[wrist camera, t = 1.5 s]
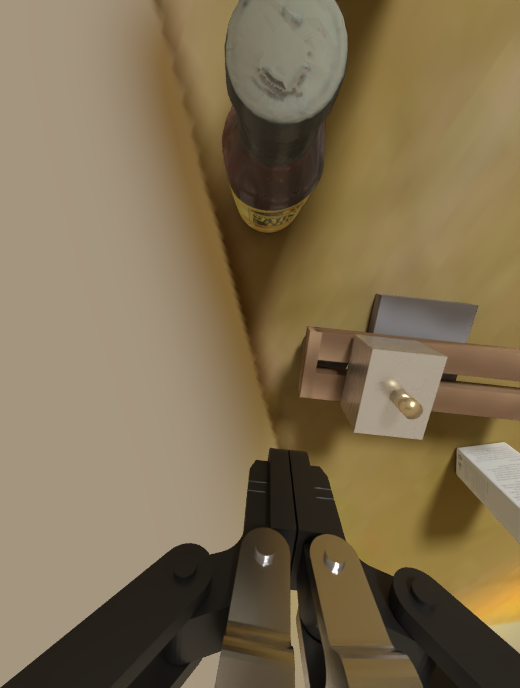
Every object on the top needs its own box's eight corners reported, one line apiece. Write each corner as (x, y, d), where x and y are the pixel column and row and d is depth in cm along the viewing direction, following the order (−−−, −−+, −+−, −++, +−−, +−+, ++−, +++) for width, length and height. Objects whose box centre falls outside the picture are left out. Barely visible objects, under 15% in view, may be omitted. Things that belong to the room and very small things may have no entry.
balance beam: (302, 285, 30) (316, 294, 22) (540, 311, 30) (645, 329, 22) (288, 386, 33) (295, 427, 25) (502, 409, 33) (580, 457, 25)
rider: (348, 329, 24) (385, 358, 16) (405, 335, 24) (468, 367, 16) (335, 396, 26) (363, 450, 18) (388, 401, 26) (438, 458, 18)
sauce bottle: (257, 246, 29) (236, 211, 10) (226, 188, 28) (132, 22, 9) (313, 212, 28) (408, 101, 9) (283, 150, 27) (323, -136, 8)
